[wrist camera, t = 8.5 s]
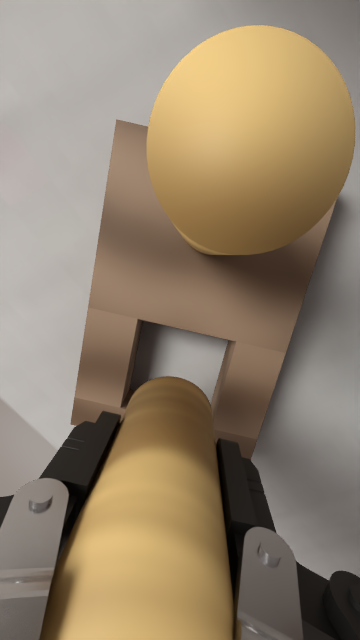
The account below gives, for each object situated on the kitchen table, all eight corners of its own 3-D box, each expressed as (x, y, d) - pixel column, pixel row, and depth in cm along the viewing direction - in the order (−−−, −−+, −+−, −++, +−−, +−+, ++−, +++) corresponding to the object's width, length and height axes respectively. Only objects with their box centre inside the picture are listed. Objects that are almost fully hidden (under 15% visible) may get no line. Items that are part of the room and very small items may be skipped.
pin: (135, 367, 13) (-54, 725, 3) (221, 387, 13) (307, 806, 3) (120, 443, 14) (-61, 904, 4) (201, 461, 14) (217, 966, 4)
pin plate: (127, 139, 17) (-47, -162, 5) (324, 184, 17) (657, 1, 5) (84, 404, 21) (-67, 611, 9) (242, 441, 21) (308, 697, 9)
